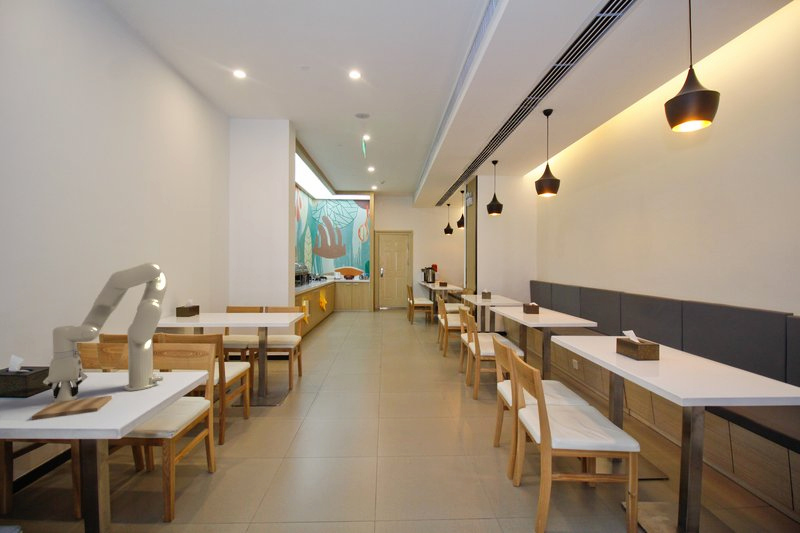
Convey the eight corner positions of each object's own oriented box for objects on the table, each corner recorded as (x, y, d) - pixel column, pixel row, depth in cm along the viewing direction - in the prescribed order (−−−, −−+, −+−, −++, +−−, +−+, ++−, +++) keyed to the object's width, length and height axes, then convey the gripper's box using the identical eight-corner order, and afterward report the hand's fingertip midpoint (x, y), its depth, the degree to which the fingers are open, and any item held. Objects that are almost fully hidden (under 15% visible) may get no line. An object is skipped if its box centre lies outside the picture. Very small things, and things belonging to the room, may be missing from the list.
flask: (63, 404, 147) (62, 380, 147) (49, 403, 149) (49, 380, 149) (81, 398, 154) (81, 375, 154) (69, 397, 156) (68, 374, 156)
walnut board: (111, 398, 153) (111, 395, 153) (97, 411, 140) (97, 407, 139) (52, 406, 145) (52, 402, 145) (31, 420, 132) (31, 416, 132)
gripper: (93, 350, 158) (94, 390, 158) (44, 354, 152) (45, 396, 152) (85, 354, 151) (86, 396, 151) (34, 359, 145) (35, 402, 145)
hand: (66, 396), depth 151 cm, fingers closed on flask, 5 cm apart
